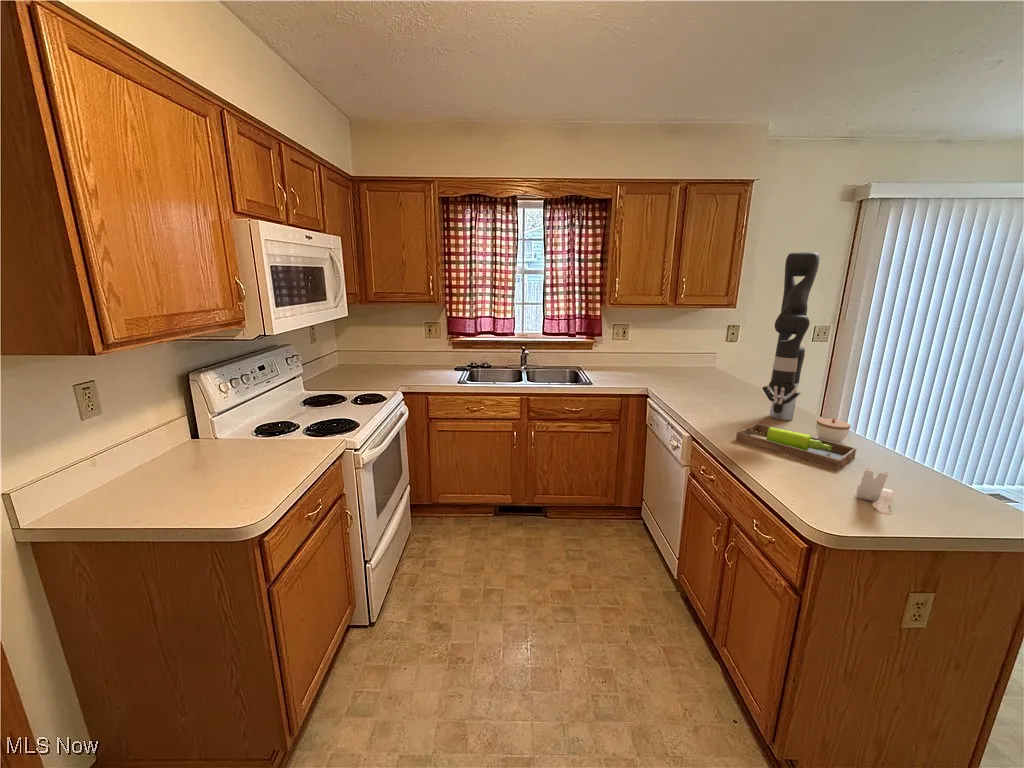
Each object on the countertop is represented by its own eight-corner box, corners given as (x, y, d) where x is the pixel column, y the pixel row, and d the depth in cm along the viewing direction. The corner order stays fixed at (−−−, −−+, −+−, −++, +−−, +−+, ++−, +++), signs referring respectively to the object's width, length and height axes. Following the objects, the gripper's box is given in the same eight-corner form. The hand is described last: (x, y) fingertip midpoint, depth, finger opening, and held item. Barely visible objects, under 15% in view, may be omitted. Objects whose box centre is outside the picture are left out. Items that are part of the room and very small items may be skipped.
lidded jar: (839, 437, 177) (844, 415, 175) (851, 447, 167) (856, 424, 165) (809, 435, 180) (813, 413, 178) (819, 444, 170) (823, 421, 168)
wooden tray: (755, 431, 183) (756, 423, 183) (854, 457, 158) (856, 448, 157) (735, 440, 172) (736, 432, 172) (838, 470, 147) (840, 460, 146)
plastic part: (888, 501, 127) (897, 464, 124) (891, 515, 119) (901, 476, 116) (856, 493, 131) (864, 457, 128) (856, 506, 123) (865, 468, 121)
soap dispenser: (769, 442, 173) (830, 456, 159) (765, 441, 168) (828, 456, 154) (772, 427, 173) (834, 440, 159) (768, 426, 167) (832, 439, 154)
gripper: (808, 370, 161) (800, 415, 166) (770, 364, 171) (763, 407, 176) (800, 373, 157) (792, 419, 161) (761, 366, 167) (755, 410, 171)
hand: (777, 412), depth 168 cm, fingers closed
